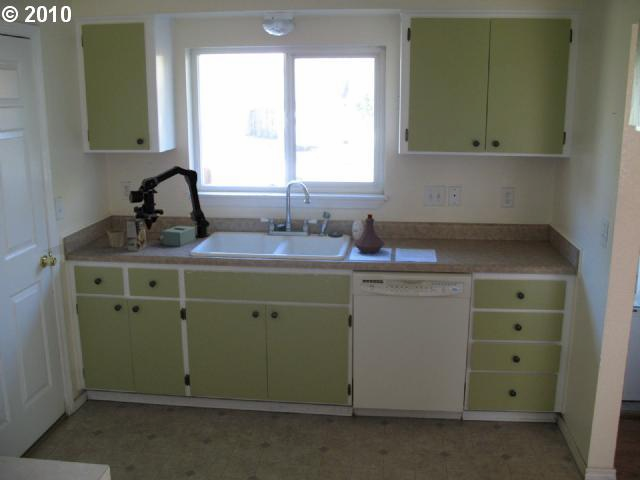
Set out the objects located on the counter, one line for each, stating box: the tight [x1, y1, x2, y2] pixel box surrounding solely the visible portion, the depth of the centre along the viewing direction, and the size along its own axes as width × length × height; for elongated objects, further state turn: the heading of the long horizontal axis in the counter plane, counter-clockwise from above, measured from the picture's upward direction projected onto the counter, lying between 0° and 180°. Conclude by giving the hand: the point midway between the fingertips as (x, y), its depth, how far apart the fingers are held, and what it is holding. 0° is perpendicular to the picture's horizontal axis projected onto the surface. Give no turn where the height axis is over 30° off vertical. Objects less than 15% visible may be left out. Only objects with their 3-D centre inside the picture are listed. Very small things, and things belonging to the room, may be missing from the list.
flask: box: [353, 213, 385, 254], centre depth 345 cm, size 16×16×20 cm
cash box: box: [161, 225, 196, 248], centre depth 365 cm, size 16×11×8 cm
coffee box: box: [126, 217, 147, 252], centre depth 349 cm, size 9×6×16 cm
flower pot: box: [106, 228, 126, 249], centre depth 355 cm, size 9×9×9 cm
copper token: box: [145, 222, 157, 233], centre depth 364 cm, size 2×5×5 cm, turn 70°
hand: (150, 229), depth 364 cm, fingers closed on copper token, 2 cm apart
